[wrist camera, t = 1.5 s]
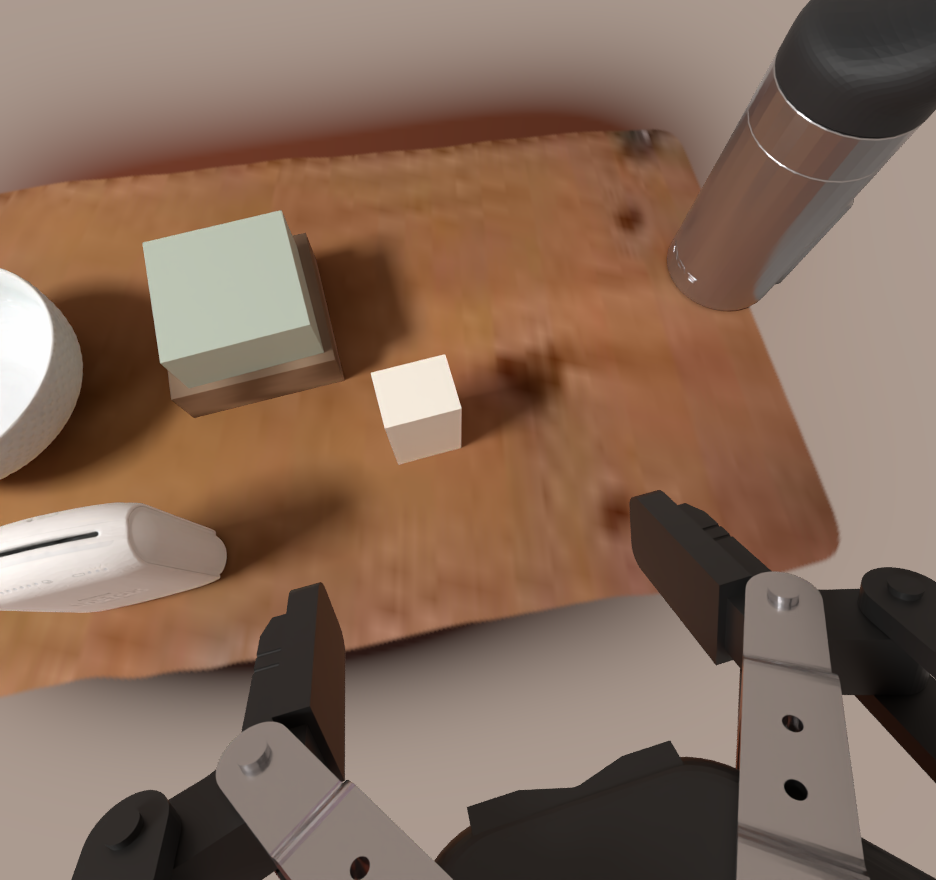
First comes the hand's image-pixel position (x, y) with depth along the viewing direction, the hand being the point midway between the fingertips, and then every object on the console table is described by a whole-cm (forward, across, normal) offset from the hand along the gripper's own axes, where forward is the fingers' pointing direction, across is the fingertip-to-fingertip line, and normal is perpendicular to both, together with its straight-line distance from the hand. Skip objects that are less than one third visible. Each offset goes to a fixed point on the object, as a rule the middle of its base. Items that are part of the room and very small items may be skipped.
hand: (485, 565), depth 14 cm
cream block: (+28, 0, +9) cm, 29 cm away
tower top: (+33, +11, -2) cm, 35 cm away
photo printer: (+24, +21, +12) cm, 34 cm away
